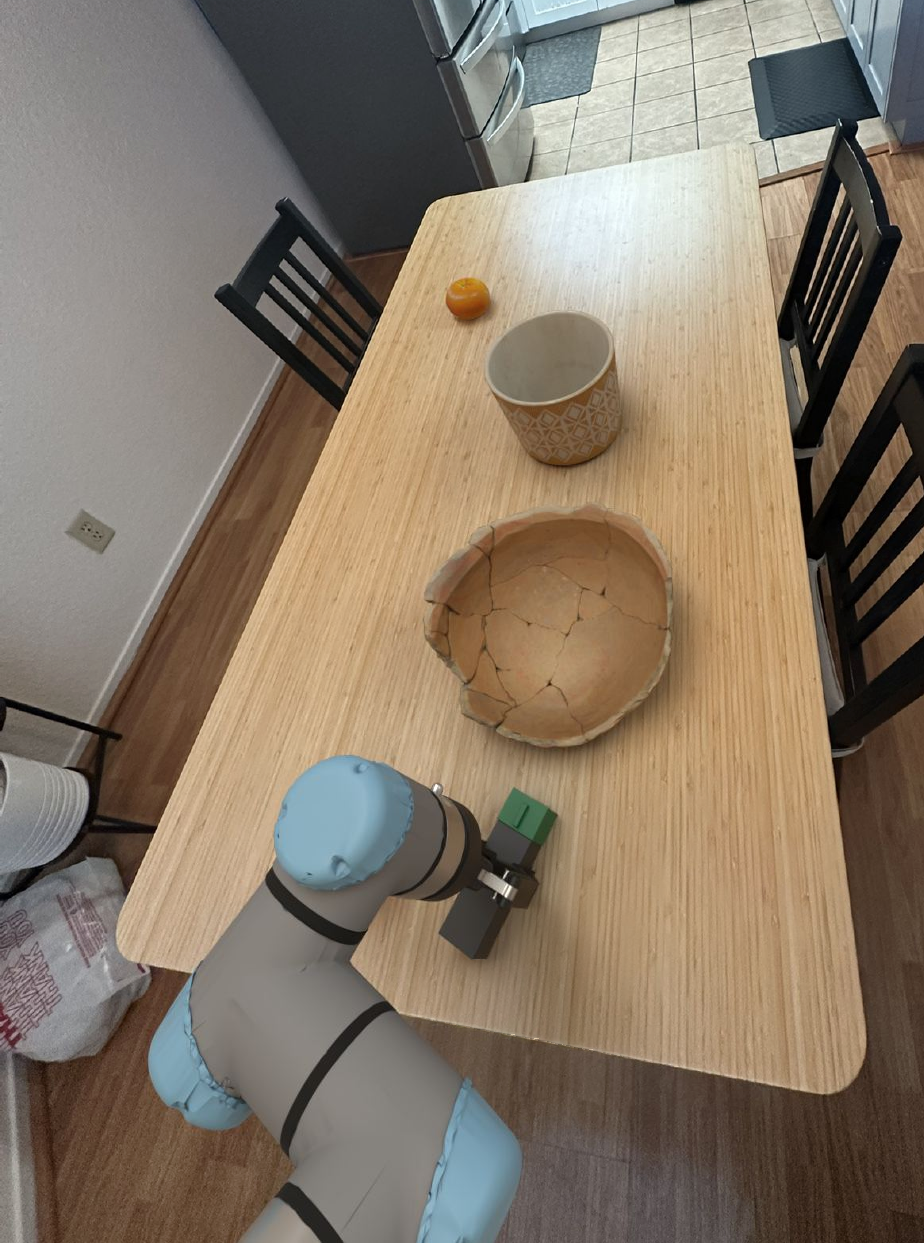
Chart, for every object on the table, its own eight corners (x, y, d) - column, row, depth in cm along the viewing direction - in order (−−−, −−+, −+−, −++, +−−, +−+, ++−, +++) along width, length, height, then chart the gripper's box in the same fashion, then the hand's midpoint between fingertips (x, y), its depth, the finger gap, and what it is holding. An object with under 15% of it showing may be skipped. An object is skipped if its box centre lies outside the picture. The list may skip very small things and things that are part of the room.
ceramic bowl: (497, 805, 72) (447, 750, 62) (442, 629, 92) (397, 565, 82) (727, 679, 76) (713, 608, 66) (626, 535, 96) (604, 463, 86)
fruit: (500, 282, 127) (467, 263, 121) (493, 321, 125) (460, 304, 119) (475, 293, 133) (442, 275, 127) (468, 331, 131) (435, 315, 125)
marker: (487, 959, 66) (470, 960, 62) (452, 933, 68) (434, 932, 64) (558, 814, 72) (547, 806, 68) (524, 794, 74) (511, 785, 70)
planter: (562, 496, 98) (535, 427, 85) (492, 432, 108) (459, 362, 95) (654, 422, 102) (642, 346, 89) (579, 367, 113) (558, 292, 100)
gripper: (537, 854, 49) (592, 878, 68) (373, 748, 57) (463, 796, 75) (485, 960, 46) (558, 955, 65) (318, 833, 53) (426, 862, 72)
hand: (507, 870), depth 70 cm, fingers closed on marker, 4 cm apart
